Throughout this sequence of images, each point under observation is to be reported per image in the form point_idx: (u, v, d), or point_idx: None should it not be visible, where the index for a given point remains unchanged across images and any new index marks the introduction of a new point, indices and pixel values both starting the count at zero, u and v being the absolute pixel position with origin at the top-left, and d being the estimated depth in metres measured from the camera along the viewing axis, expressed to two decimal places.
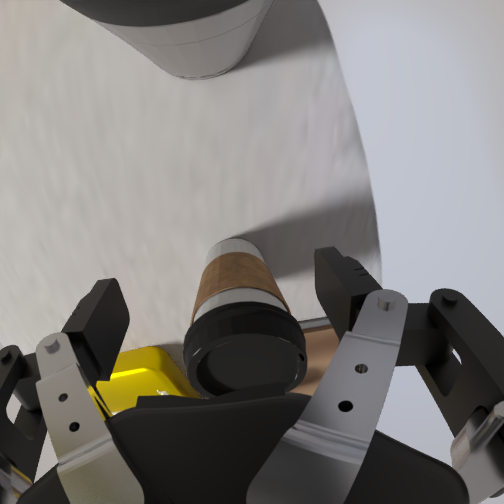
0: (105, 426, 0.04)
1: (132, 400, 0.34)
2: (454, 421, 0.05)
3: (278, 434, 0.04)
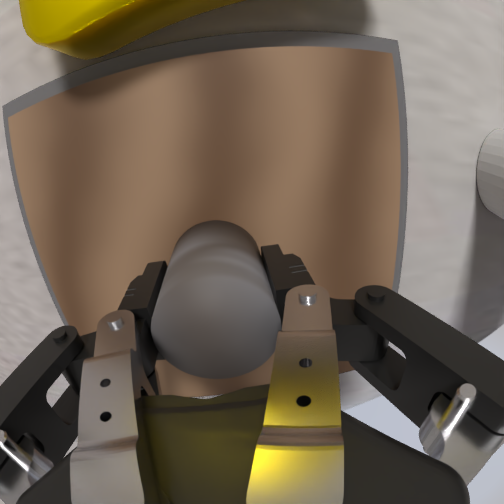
0: (136, 426, 0.04)
1: None
2: (412, 411, 0.06)
3: None
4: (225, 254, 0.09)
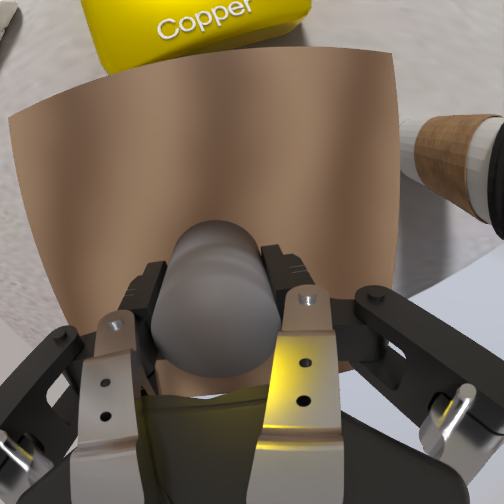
0: (136, 425, 0.04)
1: None
2: (412, 411, 0.06)
3: None
4: (225, 254, 0.10)
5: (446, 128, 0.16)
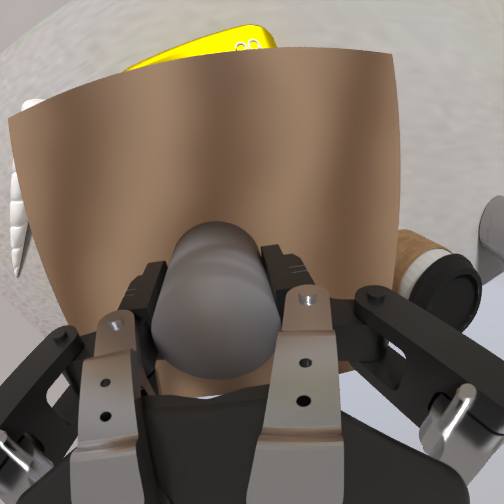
0: (136, 425, 0.04)
1: None
2: (412, 411, 0.06)
3: None
4: (225, 255, 0.09)
5: (396, 251, 0.27)
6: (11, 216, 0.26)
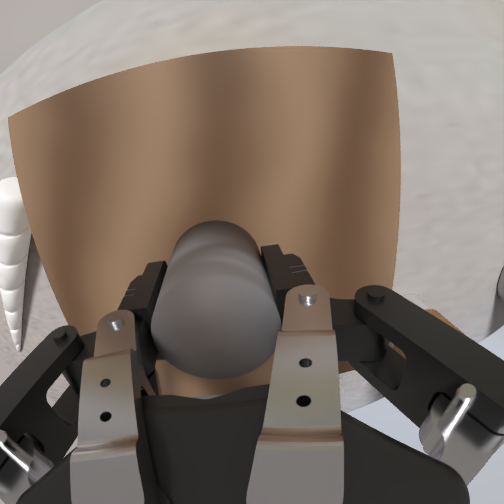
0: (136, 425, 0.04)
1: None
2: (412, 411, 0.06)
3: None
4: (225, 254, 0.09)
5: None
6: (4, 303, 0.23)
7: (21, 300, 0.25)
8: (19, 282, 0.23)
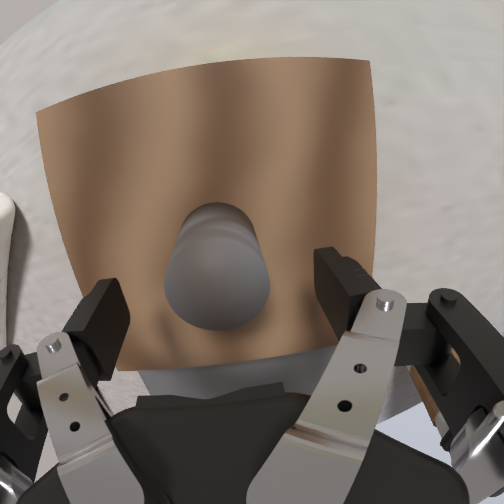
0: (106, 426, 0.04)
1: None
2: (453, 421, 0.05)
3: (278, 434, 0.04)
4: (225, 225, 0.12)
5: None
6: None
7: (3, 323, 0.21)
8: None
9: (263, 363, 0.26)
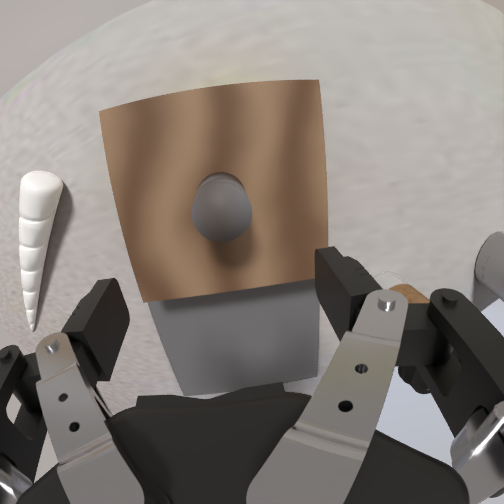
0: (105, 426, 0.04)
1: None
2: (454, 421, 0.05)
3: (278, 434, 0.04)
4: (226, 180, 0.20)
5: None
6: (23, 283, 0.28)
7: (39, 281, 0.29)
8: (40, 263, 0.28)
9: (251, 306, 0.34)
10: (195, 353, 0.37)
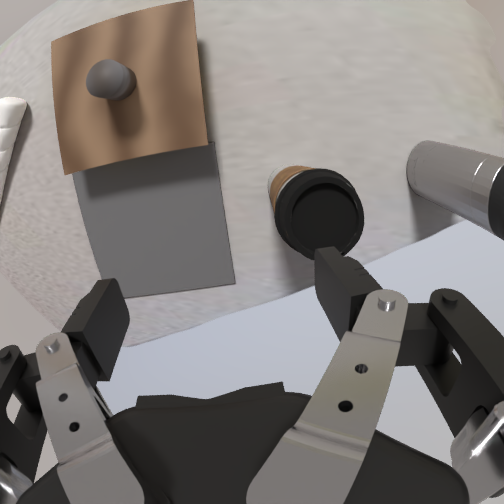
0: (105, 426, 0.04)
1: None
2: (454, 421, 0.05)
3: (278, 434, 0.04)
4: None
5: (278, 180, 0.31)
6: None
7: (2, 184, 0.32)
8: (3, 166, 0.30)
9: (157, 192, 0.37)
10: (114, 245, 0.39)
